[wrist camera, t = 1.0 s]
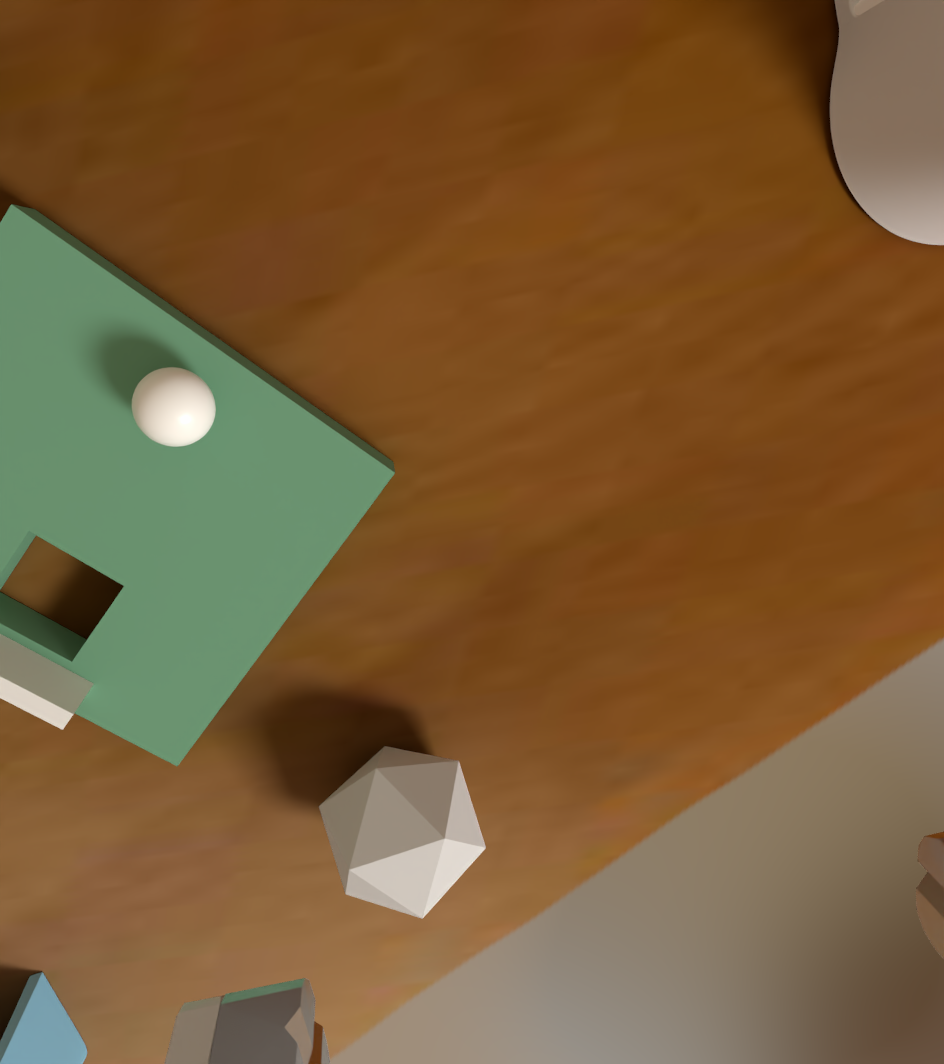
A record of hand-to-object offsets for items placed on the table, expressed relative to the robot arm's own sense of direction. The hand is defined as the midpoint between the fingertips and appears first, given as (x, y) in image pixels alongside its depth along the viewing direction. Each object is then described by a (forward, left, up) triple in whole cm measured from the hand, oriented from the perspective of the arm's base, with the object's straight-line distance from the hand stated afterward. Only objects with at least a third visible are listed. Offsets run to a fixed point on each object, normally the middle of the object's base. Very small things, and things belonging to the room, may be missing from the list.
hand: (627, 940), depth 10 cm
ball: (+5, -11, -29) cm, 31 cm away
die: (+18, +11, -33) cm, 39 cm away
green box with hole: (+12, -11, -33) cm, 37 cm away
